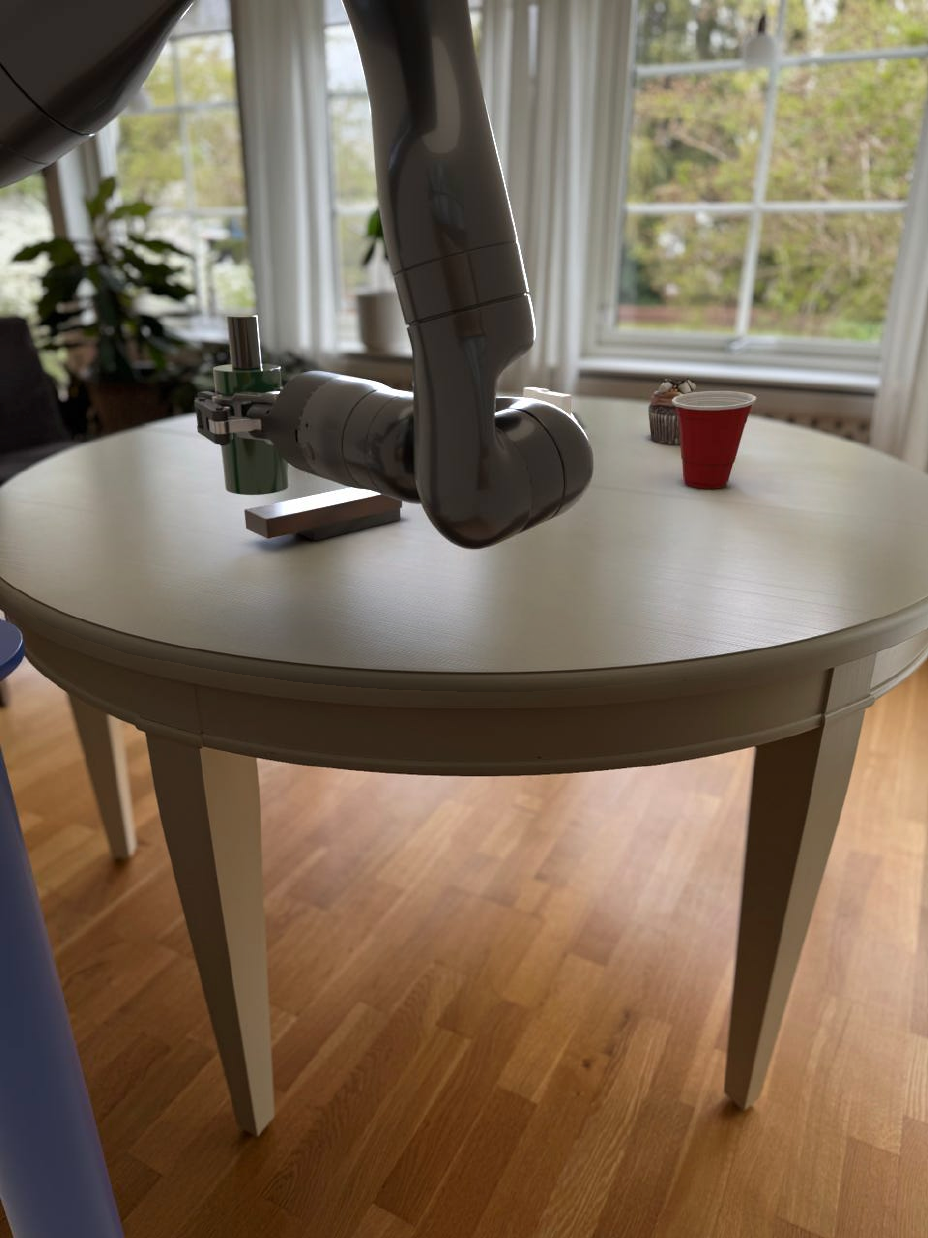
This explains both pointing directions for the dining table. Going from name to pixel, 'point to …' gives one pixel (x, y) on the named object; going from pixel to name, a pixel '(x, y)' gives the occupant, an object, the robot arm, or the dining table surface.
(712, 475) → the plastic cup
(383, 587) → the dining table surface
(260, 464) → the green bottle
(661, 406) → the cupcake
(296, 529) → the brush
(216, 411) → the robot arm
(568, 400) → the napkin holder
